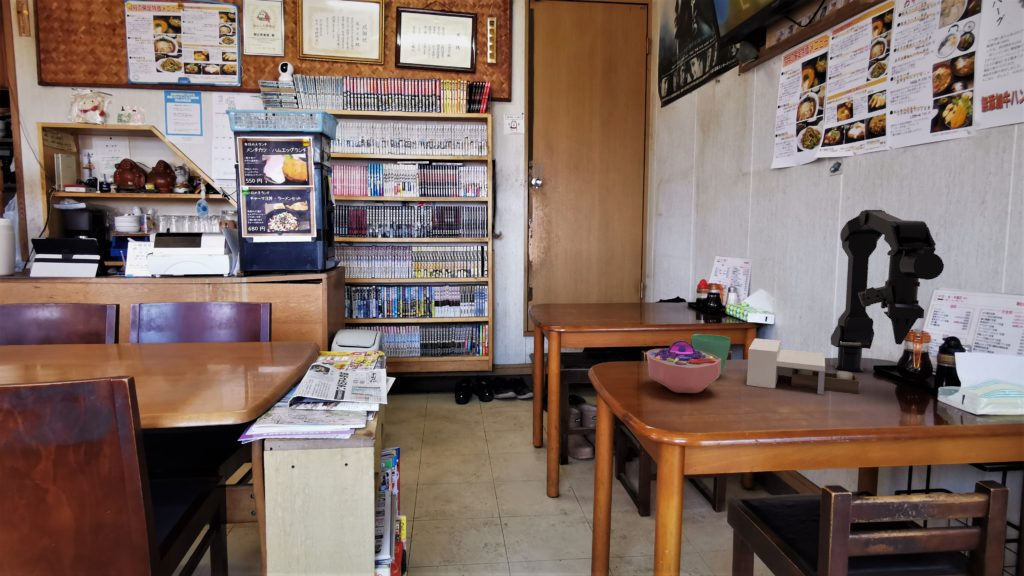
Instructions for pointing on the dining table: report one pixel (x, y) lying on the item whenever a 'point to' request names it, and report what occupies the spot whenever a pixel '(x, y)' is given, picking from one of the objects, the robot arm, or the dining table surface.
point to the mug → (712, 345)
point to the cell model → (683, 367)
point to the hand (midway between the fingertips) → (898, 344)
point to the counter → (780, 363)
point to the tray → (826, 380)
